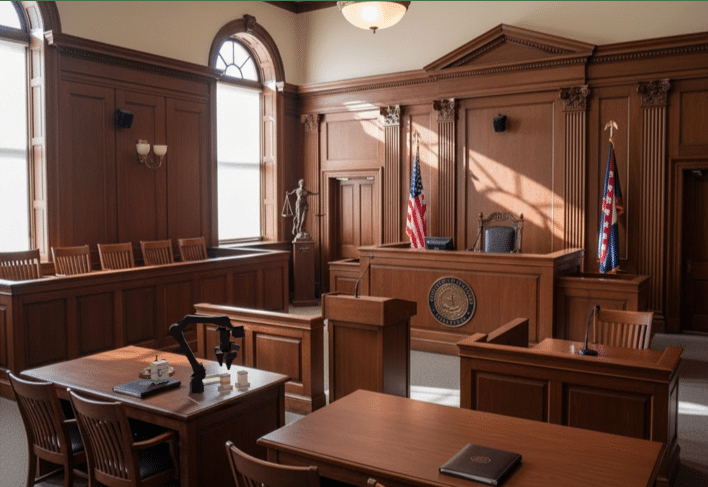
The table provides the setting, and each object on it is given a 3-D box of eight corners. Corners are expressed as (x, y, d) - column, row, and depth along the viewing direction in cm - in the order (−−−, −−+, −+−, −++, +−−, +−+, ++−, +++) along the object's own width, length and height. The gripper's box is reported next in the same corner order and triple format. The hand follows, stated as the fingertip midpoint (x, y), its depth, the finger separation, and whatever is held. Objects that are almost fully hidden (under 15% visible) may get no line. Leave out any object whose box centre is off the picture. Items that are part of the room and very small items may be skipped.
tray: (204, 386, 358) (204, 383, 358) (193, 380, 370) (193, 377, 370) (230, 382, 367) (230, 378, 366) (218, 376, 379) (218, 373, 379)
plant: (175, 368, 399) (175, 350, 398) (174, 377, 380) (174, 357, 379) (140, 371, 394) (140, 352, 393) (138, 379, 375) (137, 359, 374)
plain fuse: (240, 387, 352) (240, 373, 352) (237, 386, 355) (237, 371, 355) (247, 386, 355) (247, 371, 354) (244, 384, 358) (244, 370, 357)
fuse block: (221, 394, 343) (221, 388, 343) (214, 390, 351) (214, 385, 350) (253, 388, 354) (253, 383, 354) (245, 385, 361) (245, 379, 361)
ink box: (163, 380, 371) (163, 359, 371) (169, 381, 368) (169, 360, 367) (150, 383, 364) (150, 362, 364) (156, 385, 361) (156, 363, 361)
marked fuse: (223, 390, 346) (223, 375, 346) (220, 389, 350) (219, 374, 349) (230, 389, 349) (230, 374, 348) (227, 387, 352) (227, 373, 352)
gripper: (246, 340, 345) (246, 369, 346) (231, 334, 360) (231, 362, 361) (226, 342, 338) (227, 372, 339) (211, 336, 353) (212, 365, 354)
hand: (224, 368), depth 349 cm, fingers open, 9 cm apart
